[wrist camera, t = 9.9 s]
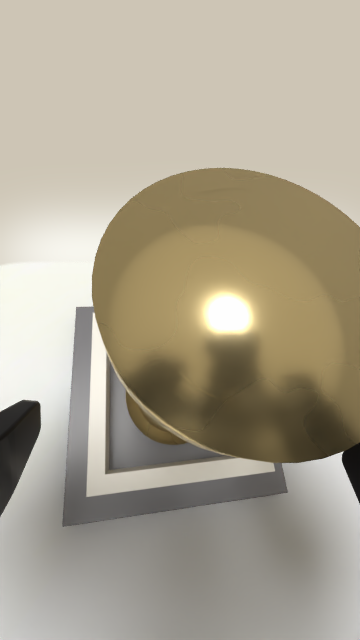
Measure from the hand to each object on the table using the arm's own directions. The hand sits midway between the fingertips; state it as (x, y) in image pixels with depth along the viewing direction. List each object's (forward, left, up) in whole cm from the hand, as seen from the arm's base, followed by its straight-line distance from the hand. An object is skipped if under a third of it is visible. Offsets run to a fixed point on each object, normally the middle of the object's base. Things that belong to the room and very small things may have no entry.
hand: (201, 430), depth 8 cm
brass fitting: (+1, -2, -9) cm, 9 cm away
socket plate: (+1, -2, -10) cm, 10 cm away
